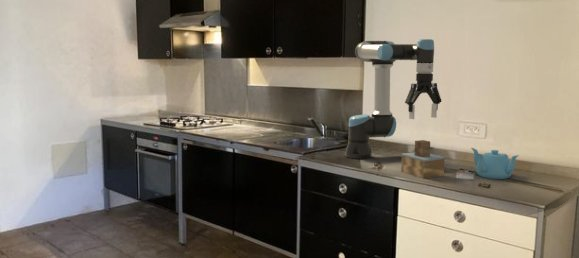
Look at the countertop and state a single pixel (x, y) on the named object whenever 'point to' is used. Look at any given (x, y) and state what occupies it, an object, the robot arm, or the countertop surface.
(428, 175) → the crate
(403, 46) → the robot arm
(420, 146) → the block
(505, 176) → the teapot
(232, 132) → the countertop surface
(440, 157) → the lid
